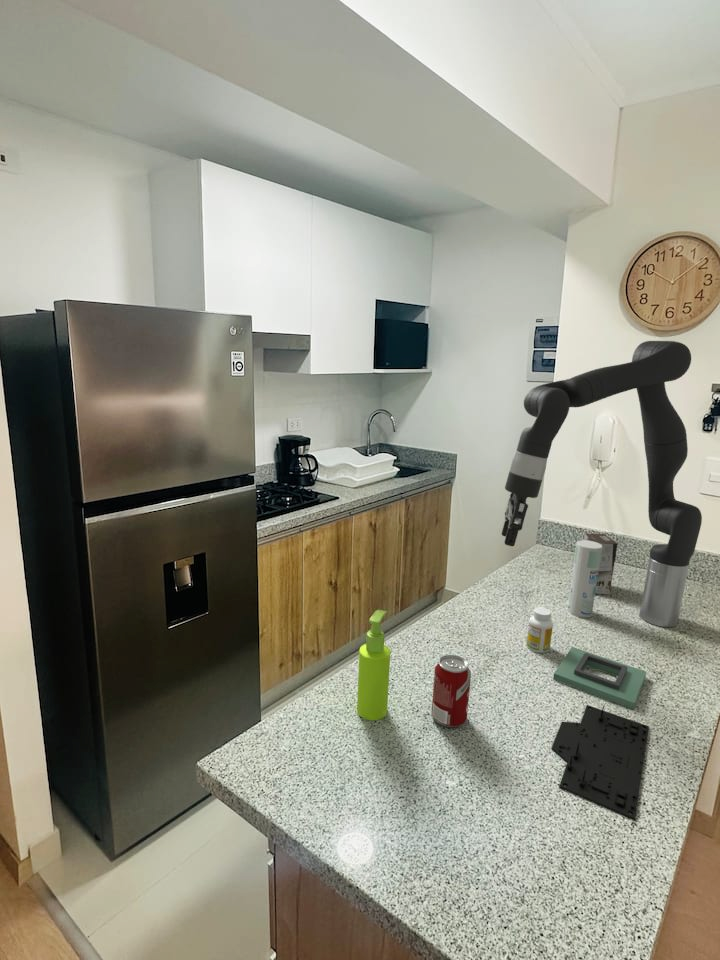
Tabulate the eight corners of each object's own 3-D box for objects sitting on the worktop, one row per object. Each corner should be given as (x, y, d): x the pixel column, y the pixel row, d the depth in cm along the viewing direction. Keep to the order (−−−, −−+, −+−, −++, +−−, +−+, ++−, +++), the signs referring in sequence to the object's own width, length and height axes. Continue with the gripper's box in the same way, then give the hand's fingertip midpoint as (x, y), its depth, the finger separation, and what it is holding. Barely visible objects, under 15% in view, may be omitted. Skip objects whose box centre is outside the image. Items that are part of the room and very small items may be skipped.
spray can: (584, 620, 144) (594, 550, 139) (562, 610, 149) (571, 542, 144) (596, 613, 148) (607, 545, 143) (574, 604, 153) (584, 538, 148)
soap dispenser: (392, 702, 107) (397, 610, 103) (382, 723, 101) (387, 627, 96) (364, 695, 109) (368, 605, 104) (352, 716, 103) (356, 621, 98)
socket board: (571, 652, 128) (572, 642, 127) (645, 677, 119) (647, 667, 118) (553, 679, 117) (554, 669, 116) (633, 709, 108) (635, 698, 107)
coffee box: (610, 594, 160) (618, 543, 156) (589, 593, 160) (596, 542, 156) (598, 581, 169) (605, 533, 165) (577, 581, 169) (584, 532, 165)
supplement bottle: (546, 642, 132) (551, 606, 129) (552, 654, 127) (557, 617, 124) (524, 640, 132) (528, 604, 130) (528, 652, 127) (533, 615, 125)
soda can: (445, 734, 99) (449, 677, 96) (424, 712, 104) (428, 657, 102) (473, 724, 102) (479, 668, 99) (452, 703, 108) (456, 649, 105)
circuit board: (634, 823, 82) (637, 806, 81) (539, 781, 89) (541, 766, 88) (648, 730, 103) (650, 716, 102) (570, 702, 110) (572, 689, 109)
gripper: (547, 482, 115) (527, 553, 118) (538, 474, 129) (520, 537, 131) (512, 474, 116) (493, 544, 119) (507, 466, 130) (489, 529, 133)
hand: (507, 540), depth 125 cm, fingers open, 8 cm apart
